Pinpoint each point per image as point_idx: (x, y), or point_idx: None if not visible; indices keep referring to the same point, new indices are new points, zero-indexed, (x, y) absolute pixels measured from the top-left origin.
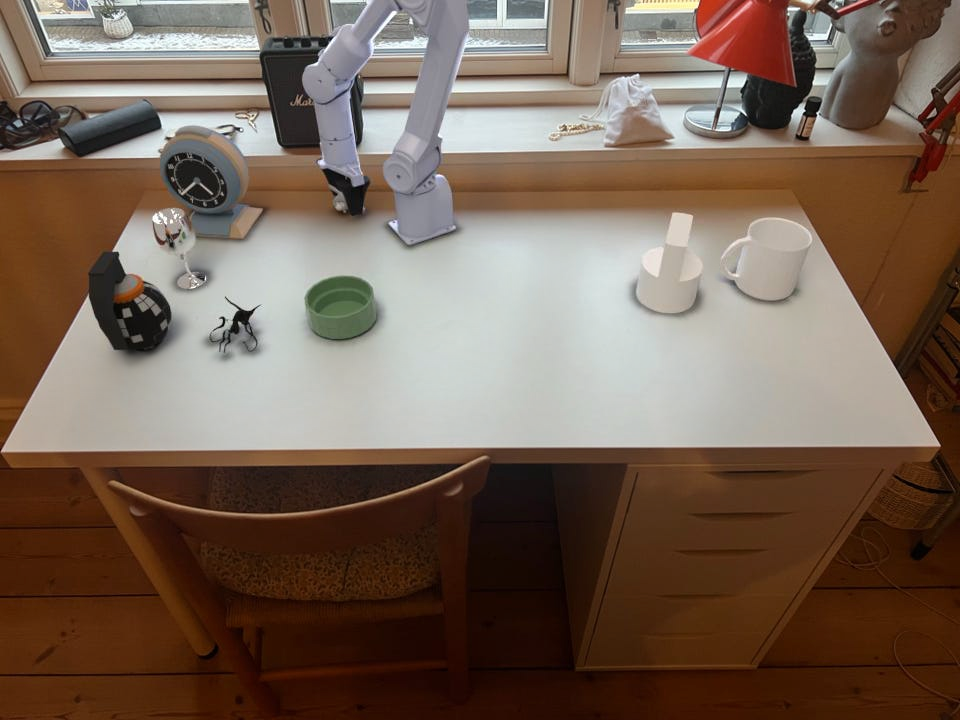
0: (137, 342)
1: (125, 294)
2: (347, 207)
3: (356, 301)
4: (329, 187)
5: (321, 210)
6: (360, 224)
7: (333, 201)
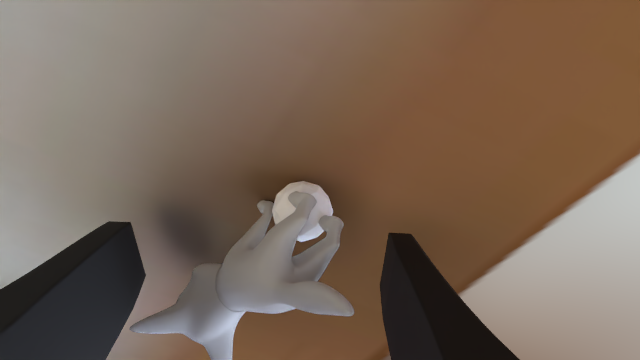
0: None
1: None
2: (92, 253)
3: None
4: (324, 290)
5: (380, 102)
6: (109, 216)
7: (303, 208)
